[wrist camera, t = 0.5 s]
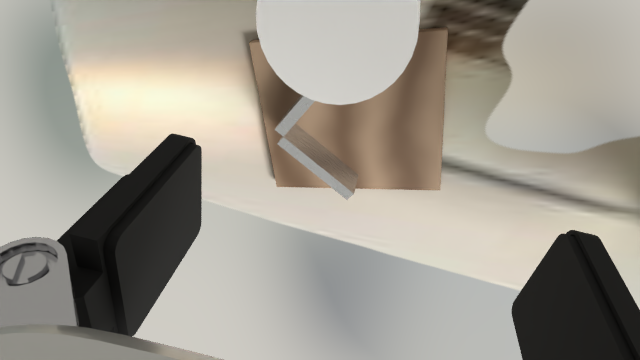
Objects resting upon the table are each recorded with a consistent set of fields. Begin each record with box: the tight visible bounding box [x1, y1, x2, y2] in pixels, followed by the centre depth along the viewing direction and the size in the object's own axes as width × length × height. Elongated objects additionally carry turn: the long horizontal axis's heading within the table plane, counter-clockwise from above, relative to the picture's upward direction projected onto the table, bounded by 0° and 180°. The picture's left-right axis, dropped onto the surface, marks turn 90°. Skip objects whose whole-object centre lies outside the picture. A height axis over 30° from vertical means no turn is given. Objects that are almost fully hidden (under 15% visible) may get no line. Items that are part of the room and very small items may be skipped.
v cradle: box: [249, 27, 448, 199], centre depth 45 cm, size 20×18×5 cm
